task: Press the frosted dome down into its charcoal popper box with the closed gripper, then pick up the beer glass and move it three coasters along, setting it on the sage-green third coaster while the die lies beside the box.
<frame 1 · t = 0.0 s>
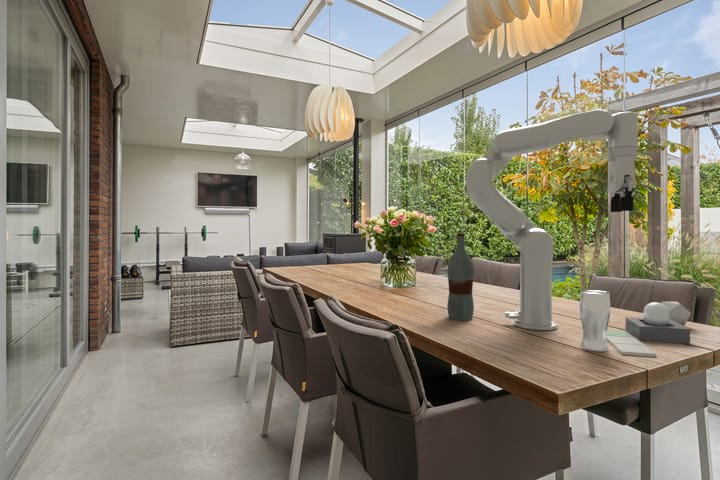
hand: (621, 211, 125), 37 cm above the table, tool pointing down, fingers open, 9 cm apart
die: (672, 326, 132), on the table
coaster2: (623, 342, 113), on the table
beer glass: (594, 349, 108), on the table
bottle: (460, 318, 146), on the table
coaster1: (633, 351, 106), on the table
popper box: (655, 336, 119), on the table
dome: (656, 312, 119), point 7 cm above the table, slide at 0.0 cm
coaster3: (614, 335, 121), on the table
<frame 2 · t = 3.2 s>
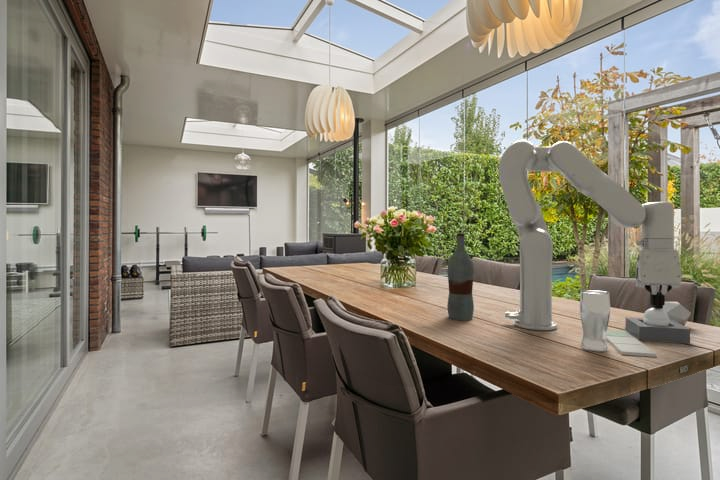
hand: (657, 307, 119), 8 cm above the table, tool pointing down, fingers closed
dome: (656, 317, 119), point 5 cm above the table, slide at 1.6 cm, touching gripper
everything else where it was.
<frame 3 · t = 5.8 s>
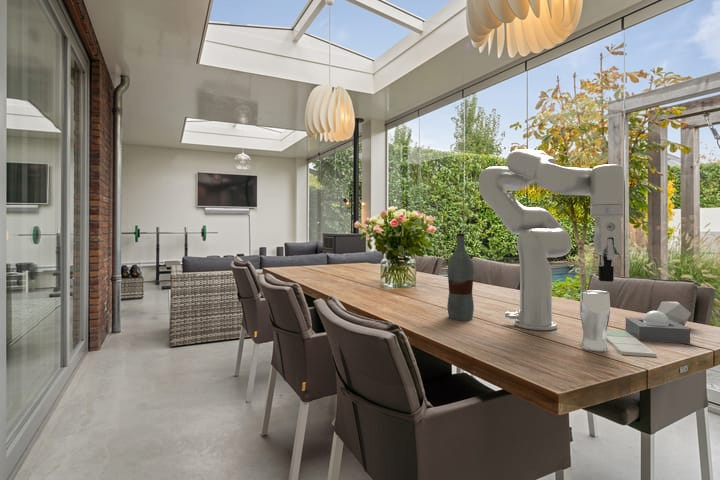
hand: (605, 280, 109), 18 cm above the table, tool pointing down, fingers closed
dome: (655, 321, 119), point 5 cm above the table, slide at 2.4 cm
everything else where it was.
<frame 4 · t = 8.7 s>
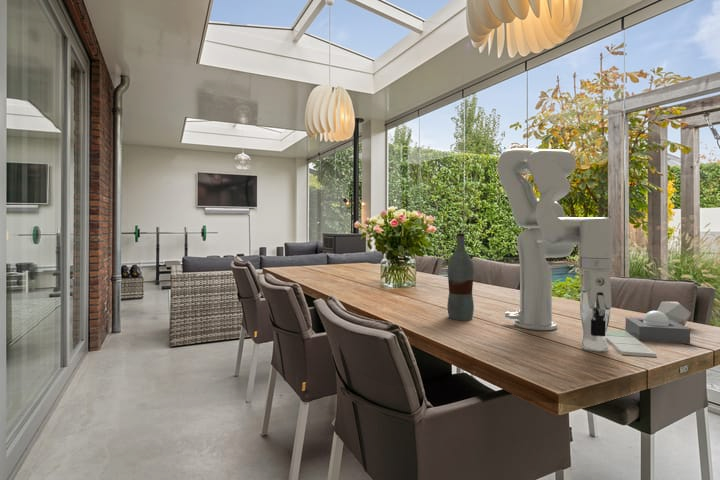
hand: (594, 331, 108), 4 cm above the table, tool pointing down, fingers closed on beer glass, 6 cm apart
beer glass: (594, 349, 108), on the table, touching gripper
everything else where it was.
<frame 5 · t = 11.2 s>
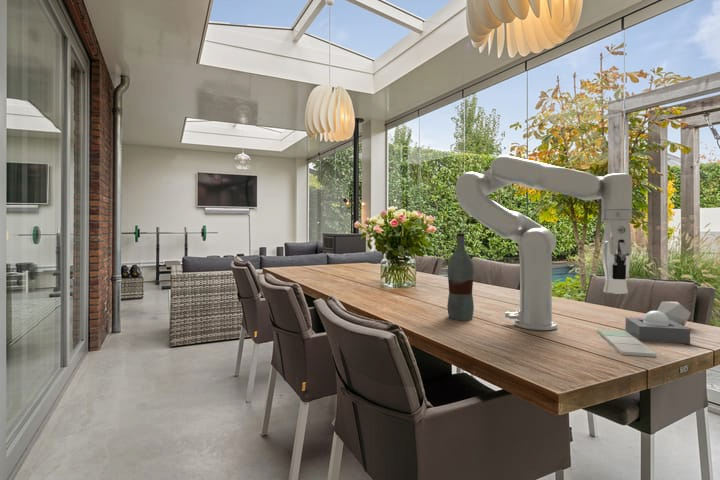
hand: (615, 277, 120), 17 cm above the table, tool pointing down, fingers closed on beer glass, 6 cm apart
beer glass: (615, 292, 120), point 13 cm above the table, touching gripper
everything else where it was.
when the fingers open (6 cm above the table, at t = 13.6 s): beer glass drops 1 cm, resting on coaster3.
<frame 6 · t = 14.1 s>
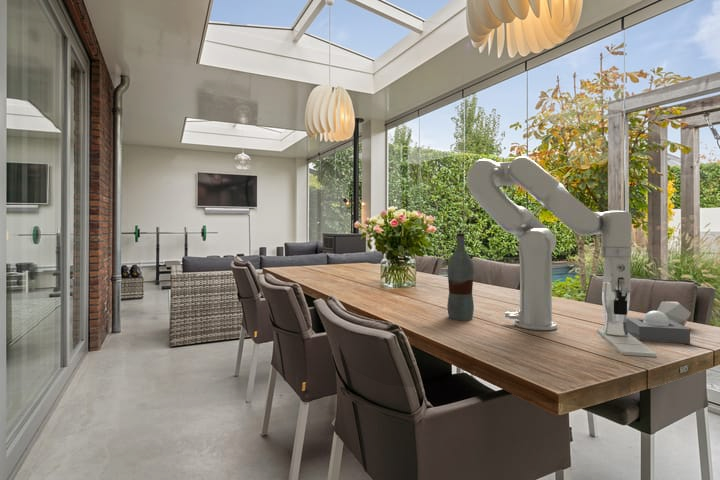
hand: (615, 310, 121), 7 cm above the table, tool pointing down, fingers open, 9 cm apart
beer glass: (615, 334, 120), point 1 cm above the table, touching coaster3, gripper
everything else where it was.
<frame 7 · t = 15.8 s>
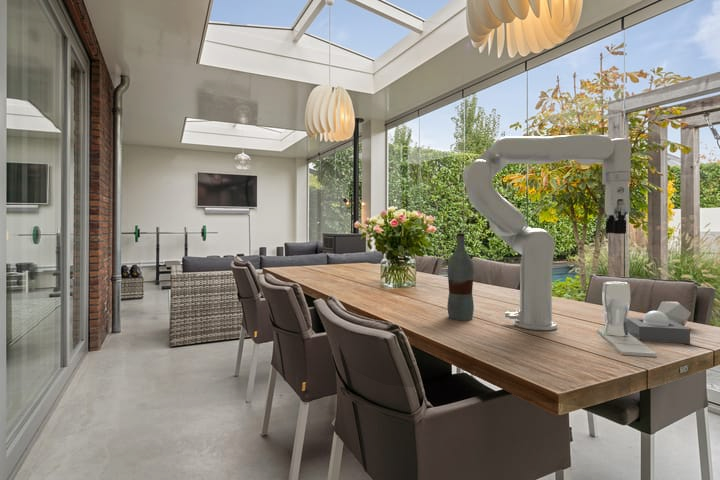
hand: (615, 233, 130), 30 cm above the table, tool pointing down, fingers open, 9 cm apart
beer glass: (615, 334, 120), point 1 cm above the table, touching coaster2, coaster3
everything else where it was.
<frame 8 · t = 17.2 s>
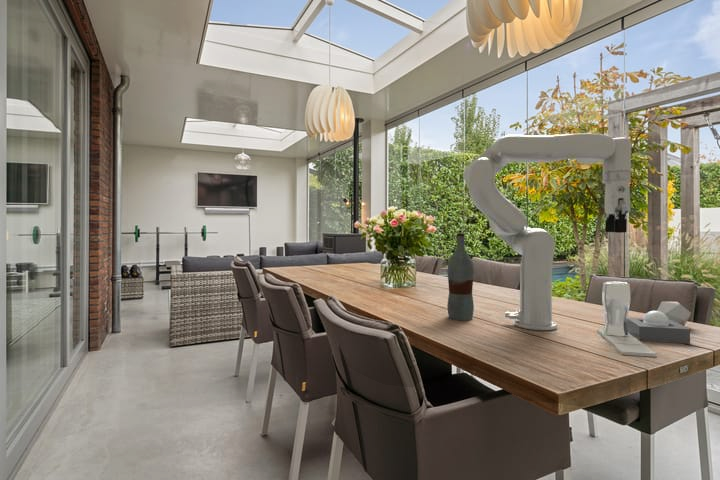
hand: (615, 232, 130), 30 cm above the table, tool pointing down, fingers open, 9 cm apart
nothing on the table moved.
at the end: dome slide at 2.4 cm; beer glass inside the target area on the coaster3 (1.4 cm from its centre), point 0.6 cm above the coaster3's base; beer glass tilted 0° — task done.
